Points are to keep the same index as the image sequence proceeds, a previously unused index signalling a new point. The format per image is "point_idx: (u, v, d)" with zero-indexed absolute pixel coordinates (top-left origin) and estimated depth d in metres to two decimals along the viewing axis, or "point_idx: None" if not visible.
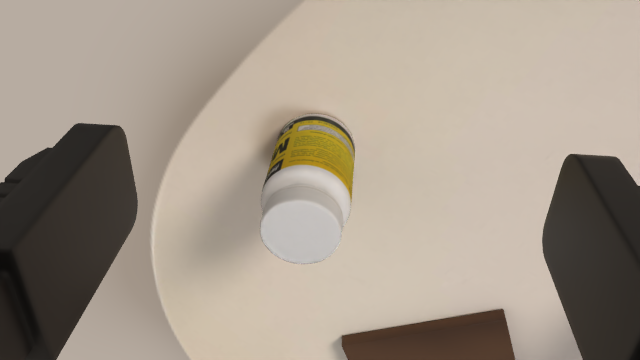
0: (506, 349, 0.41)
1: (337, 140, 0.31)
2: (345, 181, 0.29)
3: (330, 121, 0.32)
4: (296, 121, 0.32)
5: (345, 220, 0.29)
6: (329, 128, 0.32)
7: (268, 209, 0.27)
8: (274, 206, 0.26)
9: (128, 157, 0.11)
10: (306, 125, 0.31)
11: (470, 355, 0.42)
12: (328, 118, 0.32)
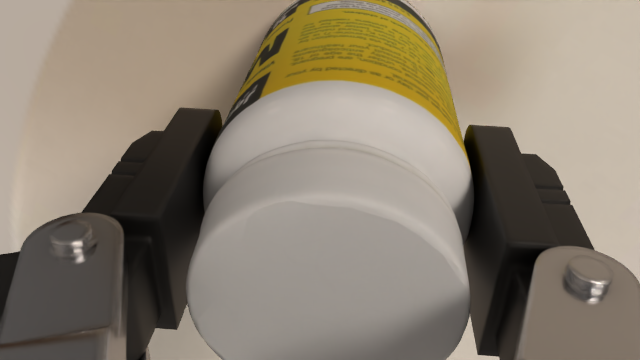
0: None
1: (416, 36, 0.12)
2: (459, 138, 0.09)
3: None
4: None
5: None
6: (391, 10, 0.12)
7: (211, 227, 0.07)
8: (231, 217, 0.07)
9: None
10: (332, 2, 0.12)
11: None
12: None
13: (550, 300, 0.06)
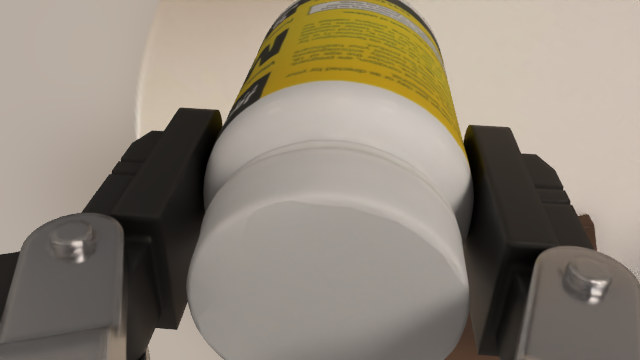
0: None
1: (416, 37, 0.12)
2: (459, 138, 0.09)
3: None
4: (305, 0, 0.13)
5: None
6: (391, 10, 0.12)
7: (212, 226, 0.07)
8: (233, 217, 0.07)
9: None
10: (331, 2, 0.12)
11: None
12: None
13: (550, 300, 0.06)
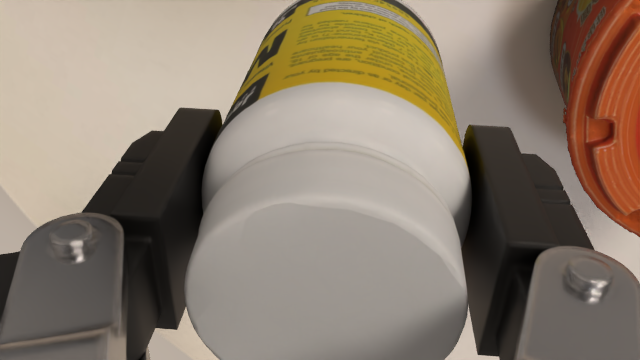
0: None
1: (414, 38, 0.12)
2: (458, 139, 0.09)
3: (389, 0, 0.13)
4: (304, 1, 0.13)
5: None
6: (390, 11, 0.12)
7: (210, 228, 0.07)
8: (229, 219, 0.07)
9: None
10: (330, 3, 0.12)
11: None
12: None
13: (550, 300, 0.06)
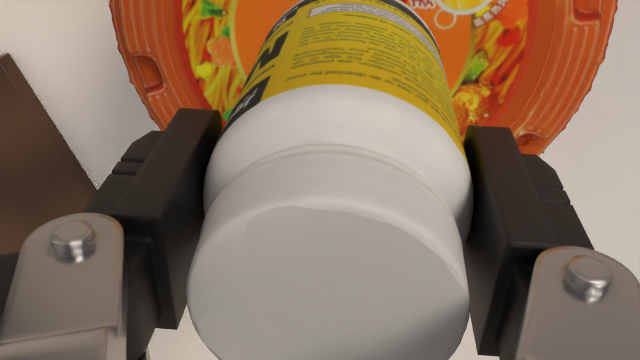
0: (26, 112, 0.31)
1: (416, 40, 0.12)
2: (459, 141, 0.09)
3: (390, 1, 0.13)
4: (305, 2, 0.13)
5: None
6: (391, 13, 0.12)
7: (212, 230, 0.07)
8: (232, 222, 0.07)
9: None
10: (331, 5, 0.12)
11: None
12: None
13: (550, 300, 0.06)
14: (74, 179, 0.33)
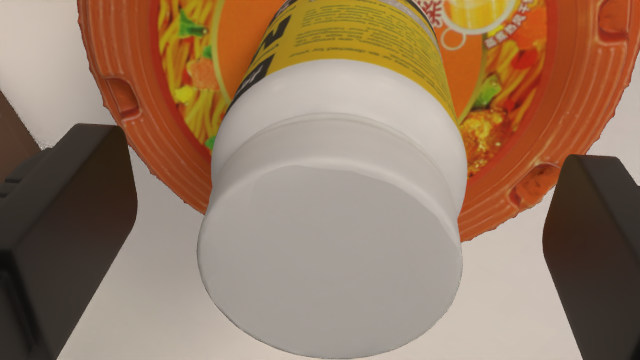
0: (3, 128, 0.29)
1: (413, 22, 0.12)
2: (453, 115, 0.10)
3: None
4: None
5: None
6: None
7: (222, 191, 0.08)
8: (240, 181, 0.08)
9: (128, 157, 0.11)
10: None
11: None
12: None
13: None
14: None
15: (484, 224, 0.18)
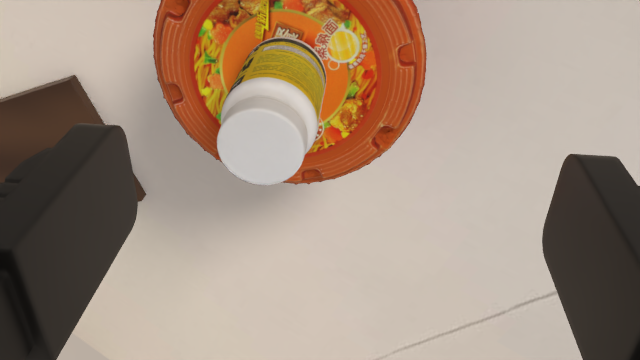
0: (85, 114, 0.46)
1: (305, 60, 0.29)
2: (311, 97, 0.27)
3: (298, 43, 0.30)
4: (262, 43, 0.30)
5: (311, 140, 0.27)
6: (297, 49, 0.29)
7: (225, 120, 0.25)
8: (231, 116, 0.24)
9: (128, 157, 0.11)
10: (272, 46, 0.29)
11: (59, 123, 0.47)
12: (296, 40, 0.30)
13: None
14: None
15: (360, 158, 0.35)
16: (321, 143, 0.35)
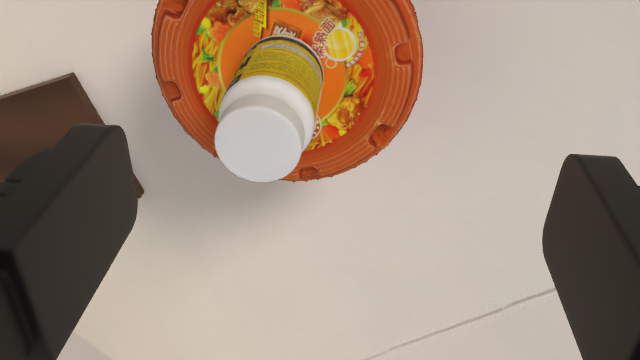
0: (84, 112, 0.46)
1: (302, 58, 0.29)
2: (308, 95, 0.27)
3: (296, 42, 0.30)
4: (260, 42, 0.30)
5: (308, 138, 0.27)
6: (294, 47, 0.30)
7: (222, 118, 0.25)
8: (228, 114, 0.25)
9: (128, 157, 0.11)
10: (269, 44, 0.30)
11: (57, 121, 0.47)
12: (294, 39, 0.31)
13: None
14: None
15: (357, 156, 0.35)
16: (319, 141, 0.35)
